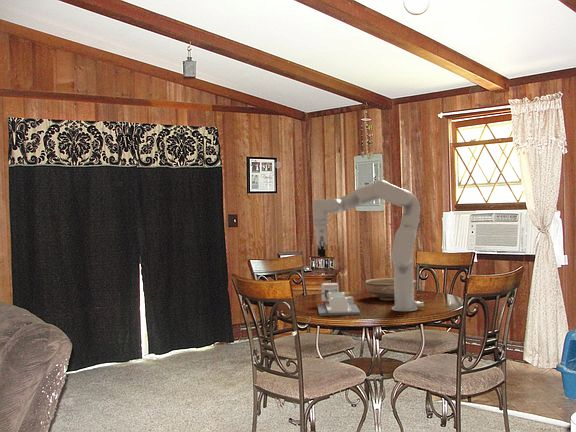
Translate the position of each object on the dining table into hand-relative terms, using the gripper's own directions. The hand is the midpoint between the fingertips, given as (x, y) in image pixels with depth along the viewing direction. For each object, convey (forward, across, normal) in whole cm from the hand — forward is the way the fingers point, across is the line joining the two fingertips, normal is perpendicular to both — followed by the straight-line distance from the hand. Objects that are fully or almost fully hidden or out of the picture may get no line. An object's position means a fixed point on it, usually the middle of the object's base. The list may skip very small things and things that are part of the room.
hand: (321, 256), depth 331 cm
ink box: (+27, +8, -5) cm, 29 cm away
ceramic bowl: (+27, +27, -40) cm, 56 cm away
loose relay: (+27, +11, -15) cm, 33 cm away
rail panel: (+27, -10, -7) cm, 30 cm away
